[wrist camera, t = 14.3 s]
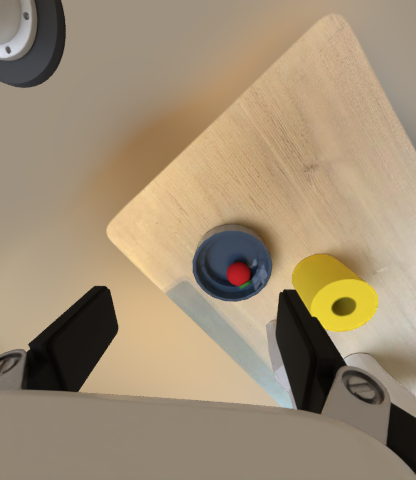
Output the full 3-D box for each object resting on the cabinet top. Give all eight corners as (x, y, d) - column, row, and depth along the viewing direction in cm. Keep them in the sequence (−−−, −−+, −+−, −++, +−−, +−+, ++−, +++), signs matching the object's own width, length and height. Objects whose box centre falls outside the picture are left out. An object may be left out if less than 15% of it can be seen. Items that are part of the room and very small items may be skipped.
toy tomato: (218, 272, 39) (232, 294, 38) (228, 264, 36) (243, 288, 34) (235, 263, 42) (248, 283, 40) (246, 254, 38) (260, 277, 37)
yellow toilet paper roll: (333, 245, 38) (366, 268, 29) (350, 285, 40) (386, 318, 31) (284, 268, 40) (300, 295, 31) (303, 304, 42) (324, 339, 34)
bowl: (188, 274, 42) (183, 287, 38) (208, 213, 38) (206, 219, 33) (250, 295, 43) (253, 310, 38) (278, 237, 38) (285, 246, 33)
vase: (404, 350, 44) (695, 638, 17) (372, 392, 49) (555, 668, 22) (341, 335, 44) (529, 598, 17) (315, 378, 49) (427, 637, 22)
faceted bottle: (257, 323, 45) (285, 452, 24) (283, 312, 44) (335, 440, 23) (270, 342, 47) (307, 478, 26) (295, 332, 45) (355, 469, 24)
